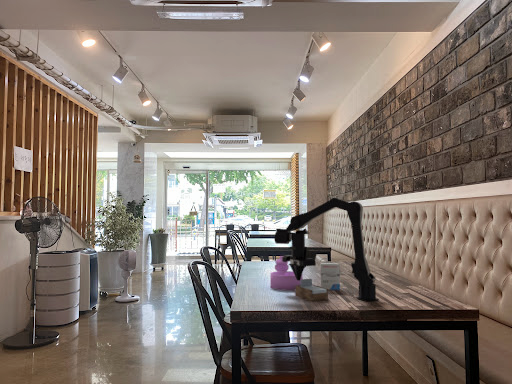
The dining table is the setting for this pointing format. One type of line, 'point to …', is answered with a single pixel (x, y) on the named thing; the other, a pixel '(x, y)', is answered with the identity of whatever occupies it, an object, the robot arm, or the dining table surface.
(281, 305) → the dining table surface
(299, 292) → the case
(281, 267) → the container set
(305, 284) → the lid
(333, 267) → the ink box
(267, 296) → the dining table surface
